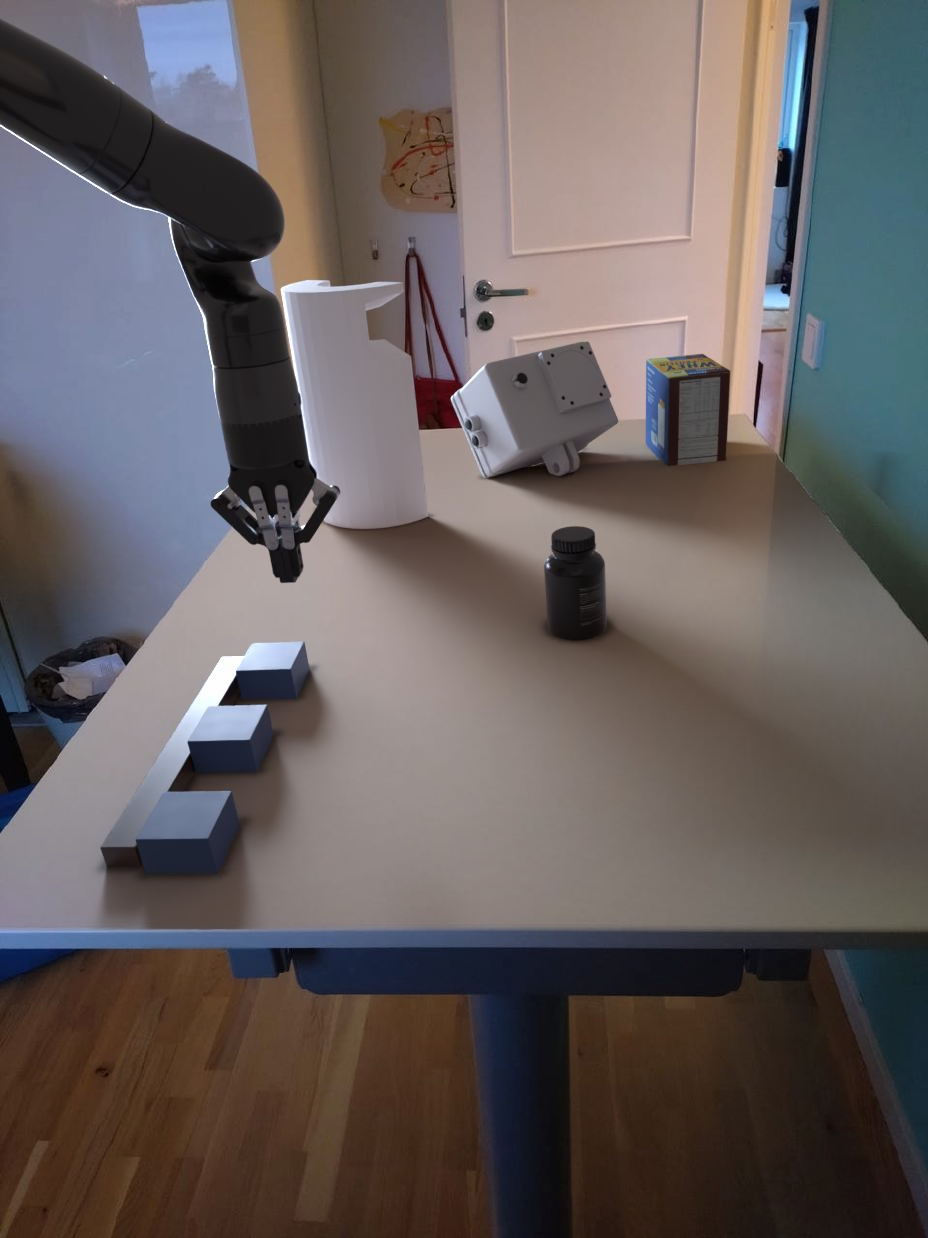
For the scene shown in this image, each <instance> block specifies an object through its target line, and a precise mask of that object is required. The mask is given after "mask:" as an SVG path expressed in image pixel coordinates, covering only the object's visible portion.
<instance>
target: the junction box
mask: <svg viewBox="0 0 928 1238" xmlns="http://www.w3.org/2000/svg"><path fill="white" fill-rule="evenodd" d="M611 398H612V393H611V391H610V388H609V387H608V384H607V382H606V379H605V377H604V374H603V373H602V369H601V367H600V365H599V363H598V360H597V358H596V355H595V353H594V351H593V348H592V346H591V343H590V341H579V342H574V343H570V344H566V345H565V344H564V345H560V346H557V347H553V348H548V349H543V350H539V351H534V352H530V353H526V354H522V355H517V356H513V357H512V356H511V357H507V358H503V359H499V360H494V361H491V362H487V363H485V364H484V365H483V366H482V367H481V368H479V369H478V371H476V373H475V374H474V375H473V376H472V377H471V378H470V379H469V380H468V381H467V382H466V383H465V384H464V385H463V386H462V387H461V388H459V389H457V391H455V392H454V394H453V395H451V397H450V402H451V405H452V406H453V409H454V412H455V413H456V416H457V418H458V422H459V424H460V426H461V428H462V430H463V433H464V435H465V438H466V441H467V443H468V445H469V448H470V450H471V453H472V455H473V457H474V460H475V463H476V465H477V467H478V470H479V472H480V474H481V477H482V478H483V479H490V478H494V477H497V476H500V475H504V474H506V473H509V472H510V473H511V472H513V471H517V470H520V469H524V468H531V467H534V466H537V465H540V464H545V466H546V469H547V471H548V473H549V474H551V475H554V476H556V477H561V476H564V475H566V474H571V473H574V472H576V471H577V470H578V469H579V468H580V456H579V454H578V453H579V452H581V450H583V449H585V448H587V447H588V445H589V444H590V443H591V442H593V441H594V440H596V439H597V438H598V437H600V436H602V435H603V434H605V433H606V432H607V431H609V430H610V429H612V428H613V427H615V426H616V425H617V424H618V423H619V418H618V416H617V413H616V411H615V409H614V406H613V404H612V402H611V400H610V399H611Z"/></svg>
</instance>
